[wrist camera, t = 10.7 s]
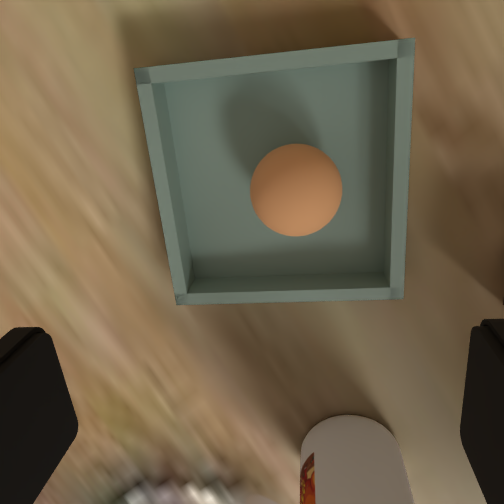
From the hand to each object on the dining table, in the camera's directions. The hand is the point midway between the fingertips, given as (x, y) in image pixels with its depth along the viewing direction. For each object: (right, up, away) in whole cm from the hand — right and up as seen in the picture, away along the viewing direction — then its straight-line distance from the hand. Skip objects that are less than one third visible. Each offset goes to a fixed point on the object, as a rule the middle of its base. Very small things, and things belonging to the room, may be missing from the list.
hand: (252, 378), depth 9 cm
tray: (+2, +7, +17) cm, 18 cm away
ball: (+2, +6, +14) cm, 15 cm away
